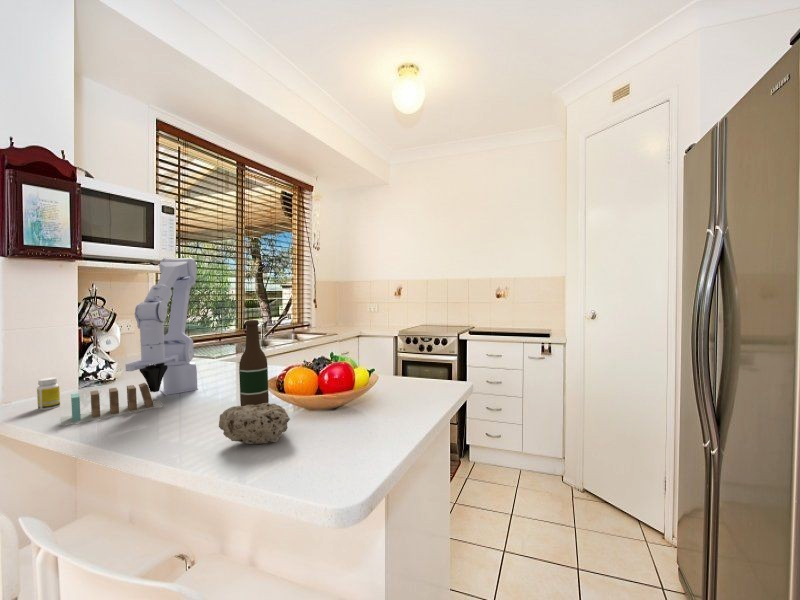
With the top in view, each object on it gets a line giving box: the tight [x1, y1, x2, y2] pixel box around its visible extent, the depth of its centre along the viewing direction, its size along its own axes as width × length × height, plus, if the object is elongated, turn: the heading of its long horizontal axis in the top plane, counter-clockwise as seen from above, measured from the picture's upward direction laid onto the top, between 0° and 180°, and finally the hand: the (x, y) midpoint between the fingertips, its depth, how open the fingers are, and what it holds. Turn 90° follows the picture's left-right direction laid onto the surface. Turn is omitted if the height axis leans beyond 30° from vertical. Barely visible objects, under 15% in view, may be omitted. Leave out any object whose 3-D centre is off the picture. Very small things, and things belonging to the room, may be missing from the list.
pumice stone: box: [218, 403, 291, 445], centre depth 84 cm, size 14×12×8 cm
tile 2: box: [126, 384, 138, 411], centre depth 109 cm, size 2×5×6 cm, turn 41°
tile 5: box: [70, 392, 81, 422], centre depth 101 cm, size 2×5×6 cm, turn 41°
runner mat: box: [60, 399, 165, 427], centre depth 106 cm, size 22×8×1 cm, turn 131°
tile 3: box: [108, 387, 120, 414], centre depth 106 cm, size 2×5×6 cm, turn 41°
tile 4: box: [89, 389, 101, 418], centre depth 104 cm, size 2×5×6 cm, turn 41°
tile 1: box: [138, 382, 154, 408], centre depth 111 cm, size 2×5×6 cm, turn 41°
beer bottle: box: [238, 319, 270, 406], centre depth 108 cm, size 8×8×24 cm
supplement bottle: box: [36, 376, 61, 411], centre depth 112 cm, size 5×5×8 cm
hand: (154, 391), depth 112 cm, fingers closed
